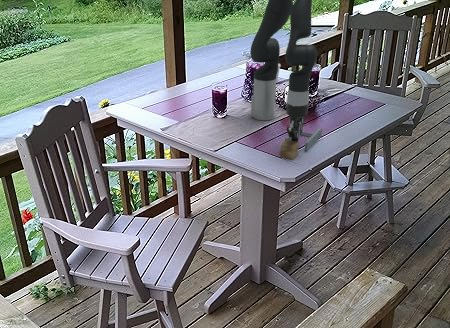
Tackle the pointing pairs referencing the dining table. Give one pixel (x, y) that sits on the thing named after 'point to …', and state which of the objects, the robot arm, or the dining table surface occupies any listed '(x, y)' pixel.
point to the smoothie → (278, 72)
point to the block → (289, 149)
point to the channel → (311, 140)
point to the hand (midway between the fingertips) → (294, 145)
